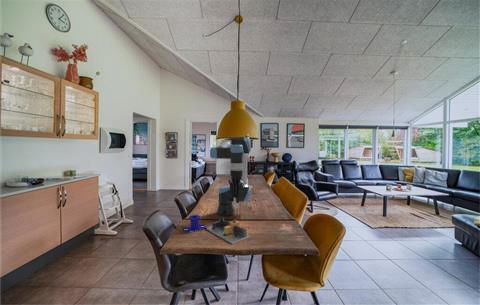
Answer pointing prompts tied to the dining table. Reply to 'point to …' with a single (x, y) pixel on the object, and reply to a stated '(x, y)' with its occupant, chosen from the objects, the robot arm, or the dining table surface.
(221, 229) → the plate
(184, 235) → the dining table surface
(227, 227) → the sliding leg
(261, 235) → the dining table surface
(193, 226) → the mount
